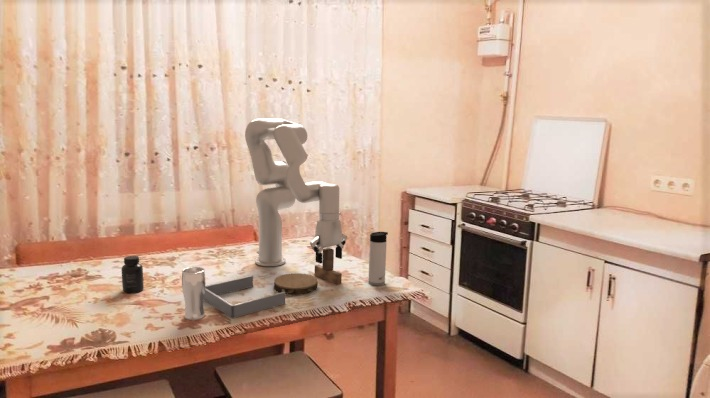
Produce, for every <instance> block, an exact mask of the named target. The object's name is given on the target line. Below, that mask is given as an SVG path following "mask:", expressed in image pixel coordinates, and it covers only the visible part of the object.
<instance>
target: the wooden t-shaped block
mask: <svg viewBox="0 0 710 398" xmlns="http://www.w3.org/2000/svg"><path fill="white" fill-rule="evenodd" d="M334 252H335V249H333V248H330V247H325V248H323V250H322V263H321V264H315V265H314V275H315V277H318V278H321V279H324V280H326V281H328V282H331V283H332V284H335V285H336V286H337V285H341V284H342V281H343V279H342V278H343V277H342V275H343V274H342V273H341V272H339V271H336V270H334V264H335V261H334V259H335V257H334V256H335V253H334Z"/></svg>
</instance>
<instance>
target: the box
mask: <svg viewBox="0 0 710 398" xmlns="http://www.w3.org/2000/svg"><path fill="white" fill-rule="evenodd" d="M253 287H254V276H253V275H248V276H243V277H239V278H235V279H231V280H225V281H221V282H217V283H212V284H209V285H205V294H204V300H203V301H204V302H207V304H209V305H211V306H212V307H214V308H216V309H217V310H219V311H220V312H221V313H223V314H225V315H226V316H228V317H229V318H230V319H235V318H239V317H242V316H245V315H249V314H254V313H257V312H261V311H264V310H267V309H272V308H275V307H278V306H282V305H285V304H286V294H285V292H281V293H279V292H277V293H274V294H270V295H266V296H263V297H259V298H255V299H250V300H246V301H242V302H239V303H236V304H232V303H231V302H229V301H227V300H226V299H224V298H223V297H221V296H220V295H224V294H229V293H232V292H236V291H241V290H243V289H248V288H253Z"/></svg>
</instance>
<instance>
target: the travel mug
mask: <svg viewBox="0 0 710 398" xmlns="http://www.w3.org/2000/svg"><path fill="white" fill-rule="evenodd" d="M388 234H389V233H388V231H376V232H375V231H374V232H371V234H369V252H368V254H369V256H368V258H369V259H368V281H367V282H368V284H369V285H371V286H377V287H379V286H380V287H381V286H384V285H385V283H386V265H387V263H386V261H387V235H388Z"/></svg>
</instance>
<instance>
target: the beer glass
mask: <svg viewBox="0 0 710 398" xmlns="http://www.w3.org/2000/svg"><path fill="white" fill-rule="evenodd" d="M181 272H182V273H181V289H182V294H183V298H184V303H185V304H184V305H185V310H184V318H185V319H186V320H190V321H195V320H200V319H203V318H204V317H205V316H206V315H205V313H206V312H205V309H204V301H205V300H204V294H205V286H206V275H205V274H206V272H205V268H204V267H200V266H191V267H190V266H189V267H186V268H183V269H182V271H181Z"/></svg>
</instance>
